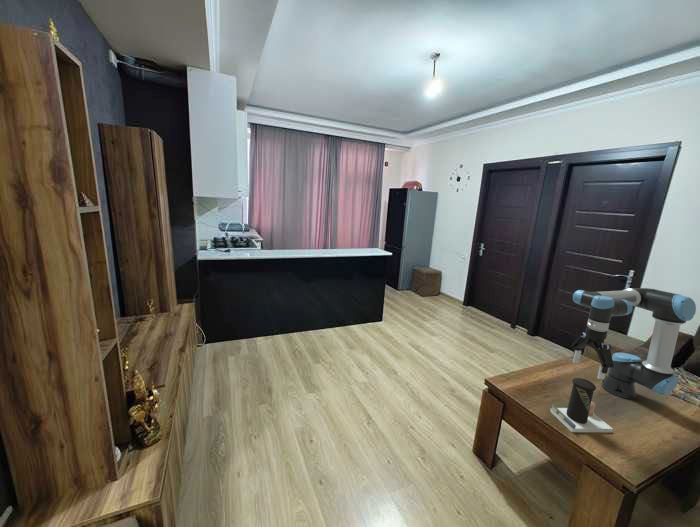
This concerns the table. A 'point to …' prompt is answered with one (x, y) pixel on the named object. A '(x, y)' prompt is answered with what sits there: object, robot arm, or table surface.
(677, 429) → the table surface
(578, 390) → the container
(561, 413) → the thin white panel
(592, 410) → the peach rounded cylinder
